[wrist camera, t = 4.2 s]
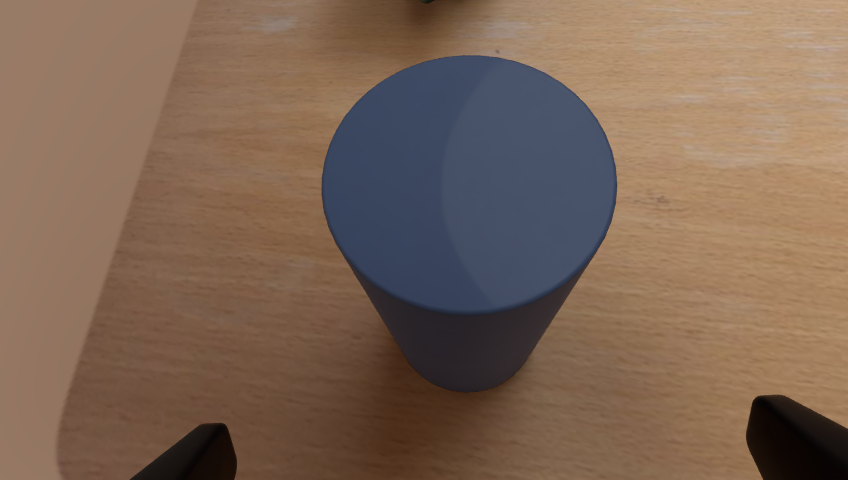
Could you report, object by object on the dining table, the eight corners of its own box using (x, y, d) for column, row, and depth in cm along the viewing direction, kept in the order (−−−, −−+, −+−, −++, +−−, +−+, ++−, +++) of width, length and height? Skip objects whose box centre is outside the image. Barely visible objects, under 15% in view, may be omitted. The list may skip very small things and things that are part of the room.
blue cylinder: (495, 420, 19) (536, 377, 8) (370, 346, 21) (262, 225, 10) (560, 293, 21) (664, 117, 10) (439, 233, 23) (414, 18, 11)
